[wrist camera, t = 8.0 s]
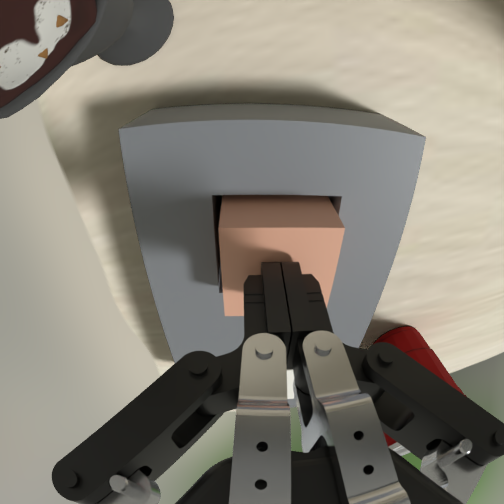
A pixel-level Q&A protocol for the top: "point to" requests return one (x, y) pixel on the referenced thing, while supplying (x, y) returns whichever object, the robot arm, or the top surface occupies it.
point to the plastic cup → (420, 352)
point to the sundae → (72, 40)
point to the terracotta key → (276, 240)
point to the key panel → (263, 183)
